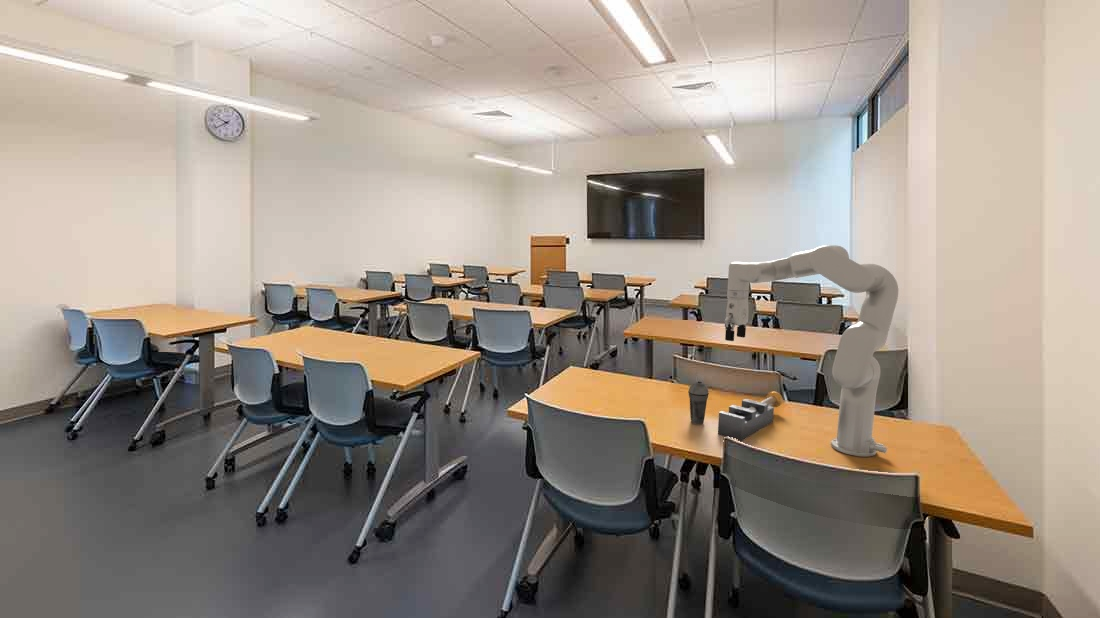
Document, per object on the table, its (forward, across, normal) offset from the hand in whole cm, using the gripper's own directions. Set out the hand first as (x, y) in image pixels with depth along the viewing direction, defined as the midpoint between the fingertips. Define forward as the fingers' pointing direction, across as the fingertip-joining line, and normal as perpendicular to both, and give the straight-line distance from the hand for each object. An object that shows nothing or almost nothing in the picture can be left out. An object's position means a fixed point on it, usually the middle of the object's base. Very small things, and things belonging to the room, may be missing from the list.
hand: (735, 338), depth 189 cm
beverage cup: (+30, -19, +4) cm, 36 cm away
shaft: (+27, 0, -11) cm, 30 cm away
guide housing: (+30, -11, -11) cm, 34 cm away
